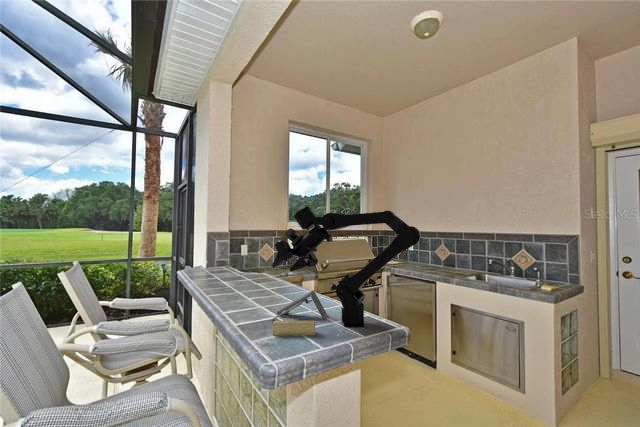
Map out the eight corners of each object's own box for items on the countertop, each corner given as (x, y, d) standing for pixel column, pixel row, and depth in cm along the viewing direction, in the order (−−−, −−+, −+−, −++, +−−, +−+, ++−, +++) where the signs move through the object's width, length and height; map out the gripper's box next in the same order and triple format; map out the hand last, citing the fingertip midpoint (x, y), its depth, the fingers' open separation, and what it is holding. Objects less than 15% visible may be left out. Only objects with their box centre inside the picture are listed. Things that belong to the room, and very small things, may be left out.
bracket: (323, 325, 88) (308, 296, 90) (284, 346, 90) (269, 317, 91) (327, 314, 99) (313, 289, 100) (292, 333, 100) (279, 308, 101)
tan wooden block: (315, 331, 83) (315, 319, 83) (315, 335, 80) (315, 322, 80) (274, 331, 83) (274, 319, 83) (272, 335, 80) (272, 323, 80)
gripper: (317, 230, 108) (290, 256, 112) (285, 216, 94) (255, 246, 98) (330, 252, 101) (301, 279, 105) (298, 240, 87) (265, 272, 91)
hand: (281, 268), depth 100 cm, fingers open, 9 cm apart
